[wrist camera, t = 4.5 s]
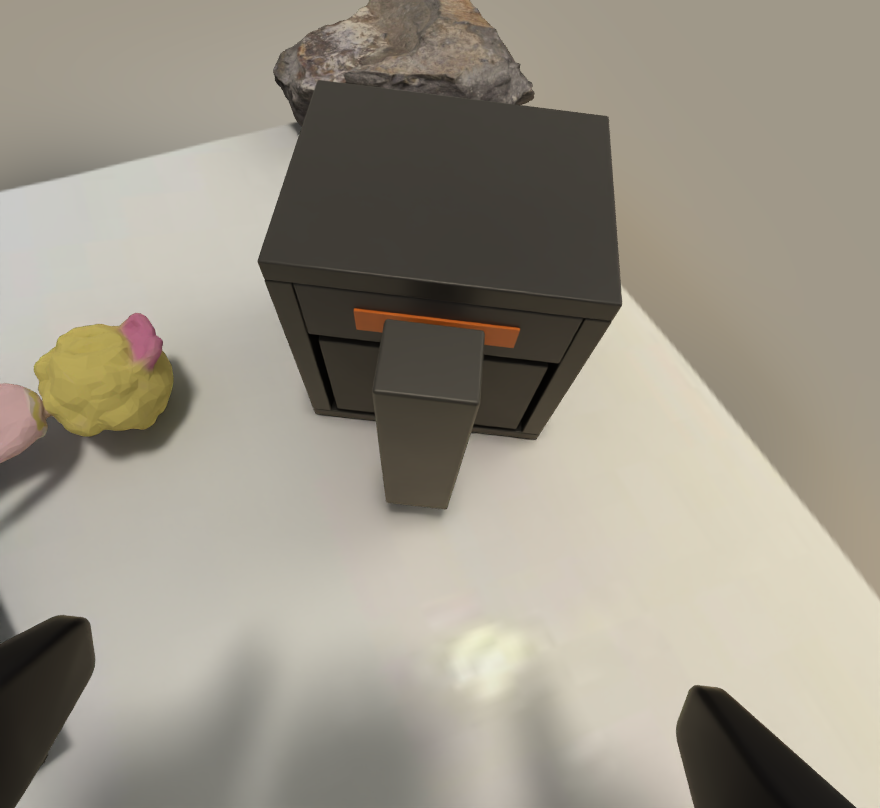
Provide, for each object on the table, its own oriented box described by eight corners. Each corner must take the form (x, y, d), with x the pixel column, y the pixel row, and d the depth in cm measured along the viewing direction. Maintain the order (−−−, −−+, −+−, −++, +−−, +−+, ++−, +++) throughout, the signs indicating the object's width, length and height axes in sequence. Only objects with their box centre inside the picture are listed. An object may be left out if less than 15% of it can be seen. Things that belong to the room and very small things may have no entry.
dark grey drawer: (513, 521, 20) (602, 419, 11) (318, 499, 20) (247, 377, 11) (520, 303, 25) (587, 105, 16) (363, 284, 25) (339, 73, 16)
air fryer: (536, 442, 23) (623, 308, 14) (314, 416, 23) (255, 264, 14) (538, 297, 26) (609, 115, 17) (347, 274, 26) (316, 78, 17)
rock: (460, 42, 36) (467, -54, 31) (562, 131, 31) (588, 35, 27) (270, 103, 32) (244, 3, 27) (358, 214, 27) (346, 118, 23)
